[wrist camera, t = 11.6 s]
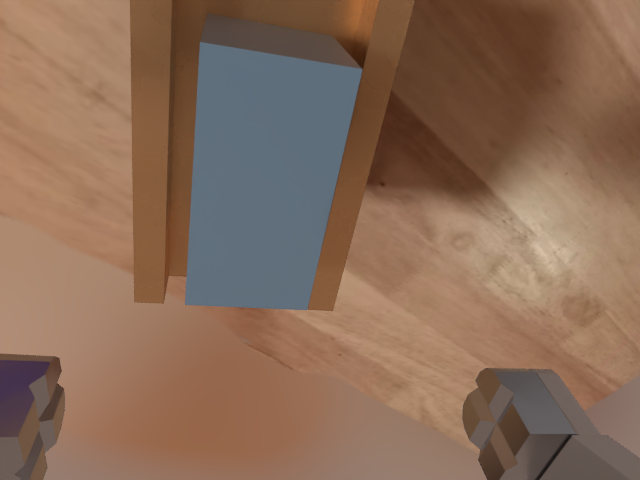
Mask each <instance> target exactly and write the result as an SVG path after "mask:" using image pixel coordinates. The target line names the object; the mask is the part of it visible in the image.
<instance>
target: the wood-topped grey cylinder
mask: <svg viewBox="0 0 640 480" xmlns="http://www.w3.org/2000/svg"><path fill="white" fill-rule="evenodd" d="M414 3H415V0H130V29H131V99H132V169H133V238H134V302H140V303H164V299H165V294H166V288H167V282H168V277H169V276H184V277H187V262H188V244H189V227H190V209H191V191H192V174H193V156H194V139H195V121H196V104H197V86H198V68H199V51H200V40H201V36H202V32H203V28H204V25H205V21H206V17H207V13H210V14H216V15H221V16H227V17H232V18H238V19H243V20H249V21H254V22H260V23H265V24H271V25H276V26H282V27H287V28H293V29H298V30H304V31H309V32H315V33H320V34H326V35H331V36H333V37H334V38H335V39H336V41H337V42H338V43H339V44H340V45H341V46H342V47H343V48H344V49H345V50H346V51H347V53H348V54H349V55H350V56H351V57H352V58H353V59H354V60H355V61H356V62H357V63H358V65H359V66H360V67H361V68H362V69H363V70H362V74H361V79H360V83H359V87H358V92H357V96H356V100H355V105H354V109H353V113H352V118H351V122H350V126H349V131H348V135H347V140H346V144H345V148H344V153H343V157H342V161H341V166H340V170H339V174H338V179H337V183H336V187H335V192H334V196H333V200H332V205H331V209H330V213H329V218H328V222H327V227H326V231H325V235H324V240H323V244H322V248H321V253H320V257H319V261H318V266H317V270H316V274H315V279H314V283H313V287H312V292H311V296H310V301H309V305H308V310H324V311H333V308H334V304H335V301H336V297H337V293H338V289H339V285H340V282H341V278H342V274H343V270H344V267H345V263H346V259H347V255H348V252H349V248H350V244H351V240H352V237H353V233H354V229H355V225H356V221H357V218H358V214H359V210H360V206H361V203H362V199H363V195H364V191H365V188H366V184H367V180H368V176H369V173H370V169H371V165H372V161H373V157H374V154H375V150H376V146H377V142H378V139H379V135H380V131H381V127H382V124H383V120H384V116H385V112H386V109H387V105H388V101H389V97H390V93H391V90H392V86H393V82H394V78H395V75H396V71H397V67H398V63H399V60H400V56H401V52H402V48H403V45H404V41H405V37H406V33H407V29H408V26H409V22H410V18H411V14H412V11H413V7H414Z"/></svg>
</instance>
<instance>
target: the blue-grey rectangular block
mask: <svg viewBox="0 0 640 480" xmlns="http://www.w3.org/2000/svg"><path fill="white" fill-rule="evenodd" d="M362 70H363V69H362V68H361V67H360V66H359V65H358V63H357V62H356V61H355V60H354V59H353V58H352V57H351V56H350V55H349V54H348V53H347V51H346V50H345V49H344V48H343V47H342V46H341V45H340V44H339V43H338V42H337V41H336V39H335V38H334V37H333V36H331V35H326V34H320V33H315V32H309V31H304V30H298V29H293V28H287V27H282V26H276V25H271V24H265V23H260V22H254V21H249V20H243V19H238V18H232V17H227V16H221V15H216V14H210V13H207V17H206V21H205V25H204V28H203V32H202V36H201V40H200V51H199V68H198V86H197V104H196V121H195V139H194V156H193V174H192V191H191V209H190V227H189V244H188V262H187V279H186V297H185V305H202V306H225V307H248V308H271V309H294V310H307V309H308V305H309V301H310V296H311V292H312V287H313V283H314V279H315V274H316V270H317V266H318V261H319V257H320V253H321V248H322V244H323V240H324V235H325V231H326V227H327V222H328V218H329V213H330V209H331V205H332V200H333V196H334V192H335V187H336V183H337V179H338V174H339V170H340V166H341V161H342V157H343V153H344V148H345V144H346V140H347V135H348V131H349V126H350V122H351V118H352V113H353V109H354V105H355V100H356V96H357V92H358V87H359V83H360V79H361V74H362Z"/></svg>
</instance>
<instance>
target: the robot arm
mask: <svg viewBox="0 0 640 480" xmlns="http://www.w3.org/2000/svg"><path fill="white" fill-rule="evenodd" d="M61 372H62V370H61V365H60V359H59V358H58V357H55V356H36V355H17V354H0V480H43V479H44V476H45V473H46V470H47V463H46V456H45V452H46V451H48V450H49V449H50V448H51V447H52V446H54V445H55V444H56V442H57V439H58V436H59V433H60V430H61V426H62V421H63V416H64V411H65V394H64V388H63V387H61V386H60V385H59V384H58V383H57V382H58V379H59V377H60V374H61ZM476 383H477V385H478V388H477V389H475V390H474V391H472V392H471V393H470V394H468V396H467V398H466V400H465V402H464V404H463V415H462V419H463V424H464V428H465V431H466V433H467V436H468V438H469V440H470V441H471V442H472V443H473V444H475V445H476V446H477V447H478V448H479V449H480V454H479V459H478V461H479V463H480V465H481V467H482V469H483V471H484V474H485V476H486V478H487V480H640V458H639V457H638V456H636V455H635V454H633V453H632V452H631V451H629V450H628V449H626V448H625V447H624V446H622V445H621V444H619V443H618V442H617V441H615V440H614V439H612V438H611V437H609V436H608V435H601V434H600V433H599V431H598V430H597V428H596V427H595V426H594V424H593V423H592V421H591V420H590V419H589V417H588V416H587V414H586V413H585V412H584V410H583V409H582V407H581V406H580V405H579V403H578V402H577V400H576V399H575V398H574V396H573V395H572V393H571V392H570V391H569V389H568V388H567V386H566V385H565V384H564V382H563V381H562V379H561V378H560V377H559V375H558V374H557V373H555V372H554V371H553V370H551V369H523V368H485V369H484V370H482V371H481V372H480V373H479V375H478V377H477V378H476Z"/></svg>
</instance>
